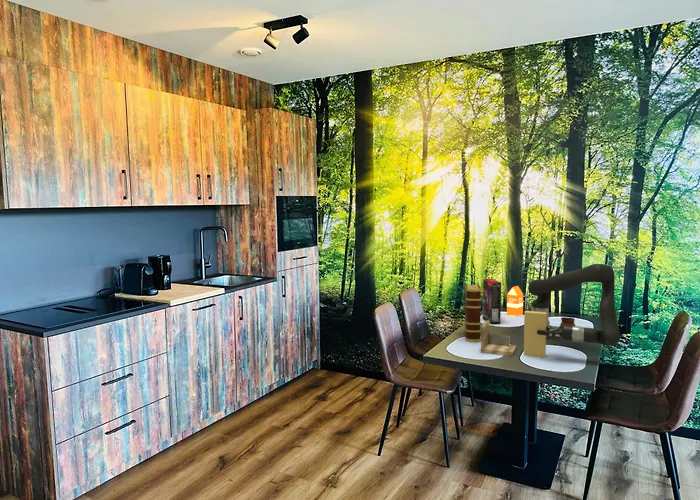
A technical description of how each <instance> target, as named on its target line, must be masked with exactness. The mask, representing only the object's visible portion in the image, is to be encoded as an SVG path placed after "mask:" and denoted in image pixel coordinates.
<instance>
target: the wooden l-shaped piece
mask: <svg viewBox="0 0 700 500" xmlns="http://www.w3.org/2000/svg"><path fill="white" fill-rule="evenodd" d="M480 330H481V332H480V339H481V341H480V353H482V354H490V355H498V356H506V357H513V355H514V354H515V352H516V350H517V345H516V344H510V346H503V345H494V344H488V334H490V323H489V321H488V320H485V322H483V323H482V324H481V325H480Z"/></svg>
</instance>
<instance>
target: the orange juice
mask: <svg viewBox="0 0 700 500" xmlns="http://www.w3.org/2000/svg"><path fill="white" fill-rule="evenodd" d="M506 296H507V297H506V315H507V314H510V315H516V316H515V317H517V316H518V315H520V316H522V315H521V314H524V293H523V292H522V290H521V288H520V287H519V285H516V286H512V287H511V289H510V290H509V291H508V292H507V295H506ZM510 315H509V316H510ZM518 317H519V316H518Z"/></svg>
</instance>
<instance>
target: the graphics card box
mask: <svg viewBox="0 0 700 500" xmlns="http://www.w3.org/2000/svg"><path fill="white" fill-rule="evenodd" d="M482 285H483V286H482V314H481V315H482V316H481V317H482V319H483V320H485V321H486V320H488V321H489V324H491V325H492V324H493V325H494V324H495V325H496V324H499V325H500V324H501V318H502V317H501V315H502V314H501V311H502V309H501V308H502V281H498V280H497V279H493V278H484V279H483V280H482Z"/></svg>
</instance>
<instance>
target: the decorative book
mask: <svg viewBox="0 0 700 500" xmlns="http://www.w3.org/2000/svg"><path fill="white" fill-rule="evenodd" d="M464 290H465V291H464V293H465V295H464V304H465V305H464V309H465V310H464V312H465V313H464V331H465V332H464V333H465V341H466V342H470V343H481V325H482V323H481V315H482V314H481V312H482V311H481V309H482V305H481V301H482V298H481V294H482V288H481V286H480V284H479V283H477V284H476V285H475V284H474V285H472V284H471V285H470V284H469V285H468V284H465V287H464Z"/></svg>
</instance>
